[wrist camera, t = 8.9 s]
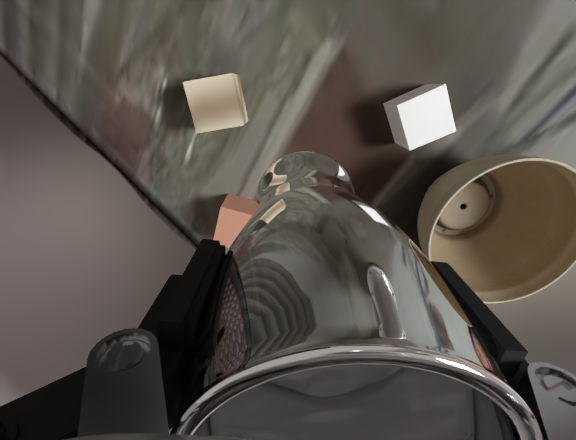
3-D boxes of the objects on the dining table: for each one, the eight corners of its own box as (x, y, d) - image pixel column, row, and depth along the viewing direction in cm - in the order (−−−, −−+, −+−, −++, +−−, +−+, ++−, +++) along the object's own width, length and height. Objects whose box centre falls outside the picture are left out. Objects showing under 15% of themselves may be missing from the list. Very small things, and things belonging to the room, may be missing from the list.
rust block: (228, 193, 40) (220, 206, 36) (265, 203, 41) (262, 218, 36) (220, 226, 42) (212, 243, 38) (255, 236, 43) (252, 253, 38)
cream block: (382, 103, 36) (396, 105, 31) (425, 84, 35) (445, 83, 31) (394, 143, 38) (409, 150, 33) (435, 125, 37) (456, 131, 32)
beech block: (196, 82, 35) (182, 82, 31) (239, 75, 35) (231, 73, 30) (207, 127, 37) (196, 133, 32) (248, 120, 37) (242, 125, 32)
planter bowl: (472, 110, 36) (542, 119, 26) (543, 197, 41) (627, 233, 31) (369, 205, 41) (396, 243, 31) (443, 274, 45) (487, 327, 35)
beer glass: (270, 260, 21) (236, 598, 7) (232, 163, 18) (60, 401, 4) (371, 232, 20) (555, 553, 6) (347, 126, 17) (571, 280, 4)
